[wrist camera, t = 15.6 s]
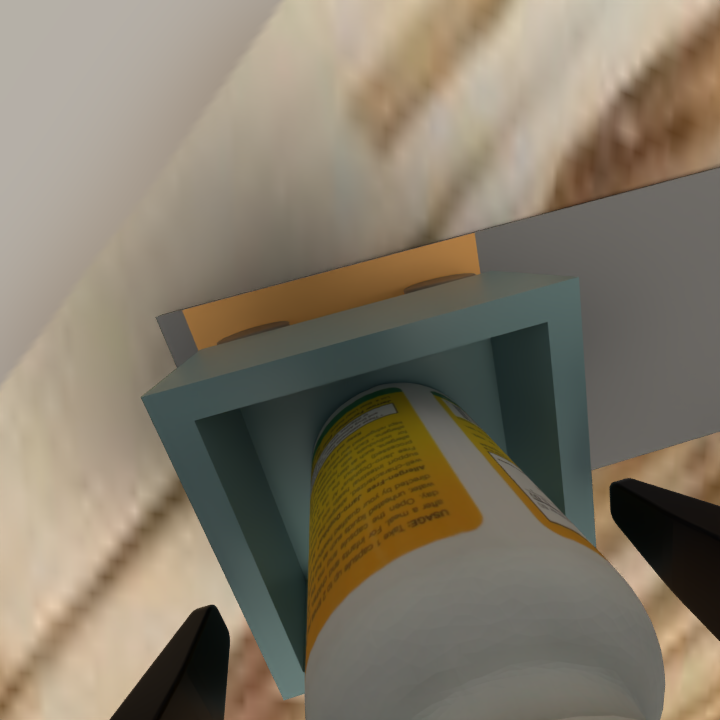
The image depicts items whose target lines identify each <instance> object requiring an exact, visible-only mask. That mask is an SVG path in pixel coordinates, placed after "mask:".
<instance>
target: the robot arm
mask: <svg viewBox="0 0 720 720" xmlns="http://www.w3.org/2000/svg"><path fill="white" fill-rule="evenodd" d="M610 510H611V515H612V518H613V520H614V521H615V523H616V524H617V526H618V527H619V528H620V529H621V530H622V532H623V533H624V534H625V535H626V537H627V538H628V539H629V540H630V541H631V543H632V544H633V545H634V546H635V547H636V549H637V550H638V551H639V552H640V554H641V555H642V556H643V557H644V558H645V560H646V561H647V562H648V563H649V565H650V566H651V567H652V568H653V569H654V571H655V572H656V573H657V574H658V576H659V577H660V578H661V579H662V580H663V582H664V583H665V584H666V585H667V586H668V587H669V588H670V590H671V591H672V592H673V593H674V594H675V595H676V596H677V597H678V598H679V599H680V600H681V602H682V603H683V604H684V605H685V606H686V607H687V608H688V609H689V610H690V611H691V612H692V613H693V614H694V615H695V616H696V617H697V618H698V619H699V620H700V621H701V622H702V623H703V624H704V625H705V626H706V628H707V629H708V630H709V631H710V632H711V633H712V634H713V635H714V636H715V637H716V638H717V639H718V640H719V641H720V506H718V505H714V504H711V503H708V502H705V501H702V500H699V499H695V498H692V497H689V496H686V495H683V494H679V493H676V492H673V491H670V490H667V489H663V488H660V487H657V486H654V485H651V484H647V483H644V482H641V481H638V480H635V479H631V478H627V479H623V480H619V481H616V482H613V483H612V484H611V485H610ZM229 649H230V636H229V631H228V629H227V627H226V625H225V623H224V621H223V619H222V617H221V615H220V613H219V610H218V609H217V607H216V606H215V605H208V606H205V607H201V608H198V609H196V610H194V611H193V612H192V613H191V614H190V615H189V617H188V618H187V619H186V621H185V622H184V623H183V625H182V626H181V627H180V628H179V630H178V631H177V632H176V634H175V635H174V636H173V638H172V639H171V640H170V641H169V643H168V644H167V645H166V647H165V648H164V649H163V651H162V652H161V653H160V655H159V656H158V657H157V658H156V660H155V661H154V662H153V664H152V665H151V666H150V668H149V669H148V670H147V671H146V673H145V674H144V675H143V677H142V678H141V679H140V681H139V682H138V683H137V685H136V686H135V687H134V688H133V690H132V691H131V692H130V694H129V695H128V696H127V698H126V699H125V700H124V701H123V703H122V704H121V705H120V707H119V708H118V709H117V711H116V712H115V713H114V715H113V716H112V717H111V718H110V720H224V713H225V700H226V687H227V674H228V661H229Z"/></svg>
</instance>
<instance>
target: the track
mask: <svg viewBox="0 0 720 720" xmlns="http://www.w3.org/2000/svg"><path fill="white" fill-rule="evenodd" d="M489 271H502V272H517V273H531V274H545V275H559V276H574V277H579V285H580V301H581V317H582V333H583V349H584V364H585V380H586V396H587V412H588V427H589V443H590V459H591V470H594V469H598V468H601V467H604V466H607V465H611V464H614V463H617V462H621V461H624V460H627V459H631V458H634V457H637V456H640V455H644V454H647V453H650V452H654V451H657V450H660V449H664V448H667V447H670V446H674V445H677V444H680V443H683V442H687V441H690V440H693V439H697V438H700V437H703V436H707V435H710V434H713V433H716V432H720V167H718V168H715V169H711V170H707V171H703V172H699V173H696V174H692V175H688V176H684V177H680V178H677V179H673V180H669V181H665V182H662V183H658V184H654V185H650V186H646V187H643V188H639V189H635V190H631V191H628V192H624V193H620V194H616V195H612V196H609V197H605V198H601V199H597V200H594V201H590V202H586V203H582V204H578V205H575V206H571V207H567V208H563V209H560V210H556V211H552V212H548V213H544V214H541V215H537V216H533V217H529V218H526V219H522V220H518V221H514V222H510V223H507V224H503V225H499V226H495V227H492V228H488V229H484V230H480V231H476V232H473V233H469V234H465V235H461V236H458V237H454V238H450V239H446V240H442V241H439V242H435V243H431V244H427V245H424V246H420V247H416V248H412V249H408V250H405V251H401V252H397V253H393V254H390V255H386V256H382V257H378V258H374V259H371V260H367V261H363V262H359V263H355V264H352V265H348V266H344V267H340V268H337V269H333V270H329V271H325V272H321V273H318V274H314V275H310V276H306V277H303V278H299V279H295V280H291V281H287V282H284V283H280V284H276V285H272V286H269V287H265V288H261V289H257V290H253V291H250V292H246V293H242V294H238V295H235V296H231V297H227V298H223V299H219V300H216V301H212V302H208V303H204V304H201V305H197V306H193V307H189V308H185V309H182V310H178V311H174V312H170V313H167V314H163V315H160V316H157V317H156V319H157V322H158V324H159V326H160V329H161V331H162V333H163V336H164V338H165V340H166V343H167V345H168V347H169V350H170V352H171V354H172V357H173V359H174V361H175V364H176V366H177V368H178V367H179V366H180V365H182V364H183V363H184V362H185V361H187V360H188V359H189V358H190V357H192V356H193V355H194V354H195V353H197V352H198V351H199V350H201V349H205V348H208V347H212V346H216V345H217V342H218V341H220V340H222V339H223V338H225V337H228V336H230V335H232V334H235V333H238V332H240V331H243V330H246V329H249V328H253V327H256V326H260V325H264V324H268V323H273V322H279V321H288V322H289V324H290V325H293V324H297V323H301V322H304V321H308V320H312V319H315V318H319V317H323V316H326V315H330V314H334V313H338V312H341V311H345V310H349V309H352V308H356V307H360V306H363V305H367V304H371V303H374V302H378V301H382V300H386V299H389V298H393V297H397V296H400V295H404V289H405V288H407V287H409V286H411V285H414V284H417V283H420V282H423V281H427V280H431V279H435V278H439V277H444V276H449V275H455V274H463V273H474V274H475V275H478V274H482V273H485V272H489Z"/></svg>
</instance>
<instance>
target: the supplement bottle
mask: <svg viewBox="0 0 720 720" xmlns="http://www.w3.org/2000/svg"><path fill="white" fill-rule="evenodd" d="M664 692H665V674H664V665H663V659H662V654H661V649H660V645H659V642H658V639H657V636H656V633H655V630H654V627H653V625H652V622H651V620H650V618H649V616H648V614H647V613H646V611H645V609H644V607H643V605H642V603H641V601H640V600H639V599H638V597H637V596H636V594H635V593H634V591H633V590H632V588H631V587H630V586H629V585H628V583H627V582H626V581H625V579H624V578H623V577H622V576H621V575H620V574H619V573H618V572H617V570H616V569H615V568H614V567H613V566H612V565H611V564H610V563H609V562H608V561H607V560H606V559H605V557H604V556H603V555H602V554H601V553H600V552H599V551H598V550H597V549H596V548H595V547H594V546H593V544H592V543H591V542H590V541H589V540H588V539H587V538H586V537H585V536H584V535H583V534H582V533H581V532H580V531H579V530H578V529H577V528H576V527H575V525H574V524H573V523H572V522H571V521H570V520H569V519H568V518H567V517H566V516H565V515H564V514H563V513H562V512H561V511H560V510H559V509H558V508H557V507H556V506H555V505H554V504H553V503H552V501H551V500H550V499H549V498H548V497H547V496H546V495H545V494H544V493H543V492H542V491H541V490H540V489H539V488H538V487H537V486H536V485H535V484H534V483H533V482H532V481H531V480H530V479H529V478H528V477H527V476H526V475H525V474H524V473H523V472H522V470H521V469H520V468H519V467H518V466H517V465H516V464H515V463H514V462H513V461H512V460H511V459H510V458H509V457H508V456H507V455H506V454H505V453H504V452H503V451H502V450H501V448H500V447H499V446H498V445H497V444H496V443H495V442H494V441H493V440H492V439H491V438H490V437H489V435H488V434H487V433H486V432H485V431H484V430H483V429H482V428H481V427H480V426H479V425H478V424H477V423H476V422H475V421H474V420H473V419H472V418H471V417H470V416H469V415H468V414H467V413H466V412H465V411H464V410H463V409H462V408H461V407H460V406H459V405H458V404H456V403H455V402H454V401H453V400H452V399H450V398H449V397H448V396H446V395H444V394H443V393H441V392H439V391H437V390H435V389H432V388H430V387H426V386H423V385H419V384H413V383H390V384H383V385H378V386H376V387H373V388H371V389H369V390H366V391H364V392H362V393H359V394H358V395H356V396H355V397H353V398H351V399H350V400H348V401H347V402H345V403H344V404H343V405H341V406H340V407H339V408H338V409H337V410H336V411H335V412H334V413H333V414H332V415H331V416H330V417H329V419H328V420H327V421H326V423H325V424H324V426H323V428H322V429H321V431H320V433H319V435H318V437H317V440H316V443H315V446H314V450H313V456H312V469H311V492H310V519H309V560H308V598H307V635H306V662H305V718H306V720H660V718H661V714H662V710H663V703H664Z"/></svg>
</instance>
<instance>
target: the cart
mask: <svg viewBox="0 0 720 720" xmlns="http://www.w3.org/2000/svg"><path fill="white" fill-rule="evenodd" d="M390 383H413V384H419V385H423V386H426V387H430V388H432V389H435V390H437V391H439V392H441V393H443V394H444V395H446V396H448V397H449V398H450V399H452V400H453V401H454V402H455V403H456V404H458V405H459V406H460V407H461V408H462V409H463V410H464V411H465V412H466V413H467V414H468V415H469V416H470V417H471V418H472V419H473V420H474V421H475V422H476V423H477V424H478V425H479V426H480V427H481V428H482V429H483V430H484V431H485V432H486V433H487V434H488V435H489V437H490V438H491V439H492V440H493V441H494V442H495V443H496V444H497V445H498V446H499V447H500V448H501V450H502V451H503V452H504V453H505V454H506V455H507V456H508V457H509V458H510V459H511V460H512V461H513V462H514V463H515V464H516V465H517V466H518V467H519V468H520V469H521V470H522V472H523V473H524V474H525V475H526V476H527V477H528V478H529V479H530V480H531V481H532V482H533V483H534V484H535V485H536V486H537V487H538V488H539V489H540V490H541V491H542V492H543V493H544V494H545V495H546V496H547V497H548V498H549V499H550V500H551V501H552V503H553V504H554V505H555V506H556V507H557V508H558V509H559V510H560V511H561V512H562V513H563V514H564V515H565V516H566V517H567V518H568V519H569V520H570V521H571V522H572V523H573V524H574V525H575V527H576V528H577V529H578V530H579V531H580V532H581V533H582V534H583V535H584V536H585V537H586V538H587V539H588V540H589V541H590V542H591V543H592V544H593V546H594V547H595V548H596V538H595V522H594V506H593V490H592V475H591V459H590V443H589V427H588V412H587V396H586V380H585V364H584V349H583V333H582V317H581V301H580V285H579V277H574V276H559V275H545V274H531V273H517V272H502V271H489V272H485V273H482V274H478V275H475V274H474V273H463V274H455V275H449V276H444V277H439V278H435V279H431V280H427V281H423V282H420V283H417V284H414V285H411V286H409V287H407V288H405V289H404V295H400V296H397V297H393V298H389V299H386V300H382V301H378V302H374V303H371V304H367V305H363V306H360V307H356V308H352V309H349V310H345V311H341V312H338V313H334V314H330V315H326V316H323V317H319V318H315V319H312V320H308V321H304V322H301V323H297V324H293V325H290V324H289V322H288V321H279V322H273V323H268V324H264V325H260V326H256V327H253V328H249V329H246V330H243V331H240V332H238V333H235V334H232V335H230V336H228V337H225V338H223V339H222V340H220V341H218V342H217V345H216V346H212V347H208V348H205V349H201V350H199V351H198V352H197V353H195V354H194V355H193V356H192V357H190V358H189V359H188V360H187V361H185V362H184V363H183V364H182V365H180V366H179V367H178V368H177V369H176V370H174V371H173V372H172V373H171V374H169V375H168V376H167V377H166V378H164V379H163V380H162V381H161V382H159V383H158V384H157V385H156V386H154V387H153V388H152V389H151V390H149V391H148V392H147V393H146V394H144V395H143V396H142V397H141V399H142V401H143V403H144V405H145V407H146V409H147V411H148V413H149V416H150V418H151V420H152V422H153V424H154V426H155V428H156V430H157V433H158V435H159V437H160V439H161V441H162V443H163V445H164V447H165V449H166V452H167V454H168V456H169V458H170V460H171V462H172V464H173V466H174V469H175V471H176V473H177V475H178V477H179V479H180V481H181V483H182V485H183V488H184V490H185V492H186V494H187V496H188V498H189V500H190V502H191V504H192V507H193V509H194V511H195V513H196V515H197V517H198V519H199V521H200V524H201V526H202V528H203V530H204V532H205V534H206V536H207V538H208V540H209V543H210V545H211V547H212V549H213V551H214V553H215V555H216V557H217V560H218V562H219V564H220V566H221V568H222V570H223V572H224V574H225V576H226V579H227V581H228V583H229V585H230V587H231V589H232V591H233V593H234V595H235V598H236V600H237V602H238V604H239V606H240V608H241V610H242V612H243V615H244V617H245V619H246V621H247V623H248V625H249V627H250V629H251V631H252V634H253V636H254V638H255V640H256V642H257V644H258V646H259V648H260V651H261V653H262V655H263V657H264V659H265V661H266V663H267V665H268V667H269V670H270V672H271V674H272V676H273V678H274V680H275V682H276V684H277V686H278V689H279V691H280V693H281V695H282V697H283V699H284V700H286V699H289V698H292V697H296V696H299V695H302V694H305V662H306V635H307V598H308V560H309V519H310V492H311V469H312V456H313V450H314V446H315V443H316V440H317V437H318V435H319V433H320V431H321V429H322V428H323V426H324V424H325V423H326V421H327V420H328V419H329V417H330V416H331V415H332V414H333V413H334V412H335V411H336V410H337V409H338V408H339V407H340V406H341V405H343V404H344V403H345V402H347V401H348V400H350V399H351V398H353V397H355V396H356V395H358V394H359V393H362V392H364V391H366V390H369V389H371V388H373V387H376V386H378V385H383V384H390Z"/></svg>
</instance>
